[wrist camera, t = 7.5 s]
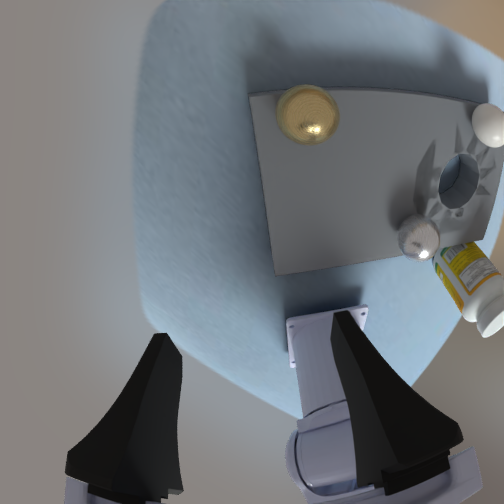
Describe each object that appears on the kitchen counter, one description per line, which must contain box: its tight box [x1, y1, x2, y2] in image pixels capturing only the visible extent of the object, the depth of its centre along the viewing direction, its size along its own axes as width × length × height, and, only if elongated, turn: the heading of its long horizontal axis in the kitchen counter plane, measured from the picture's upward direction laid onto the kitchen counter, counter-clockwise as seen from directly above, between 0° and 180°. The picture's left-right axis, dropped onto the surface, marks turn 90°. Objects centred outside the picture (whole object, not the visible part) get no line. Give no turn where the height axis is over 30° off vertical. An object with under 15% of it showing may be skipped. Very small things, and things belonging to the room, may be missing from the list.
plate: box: [248, 87, 504, 276], centre depth 16 cm, size 12×20×2 cm, turn 98°
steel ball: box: [397, 214, 441, 262], centre depth 16 cm, size 3×3×3 cm
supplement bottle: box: [433, 242, 504, 337], centre depth 18 cm, size 5×5×10 cm
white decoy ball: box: [472, 103, 504, 148], centre depth 11 cm, size 3×3×3 cm
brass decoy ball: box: [275, 84, 340, 146], centre depth 11 cm, size 3×3×3 cm
